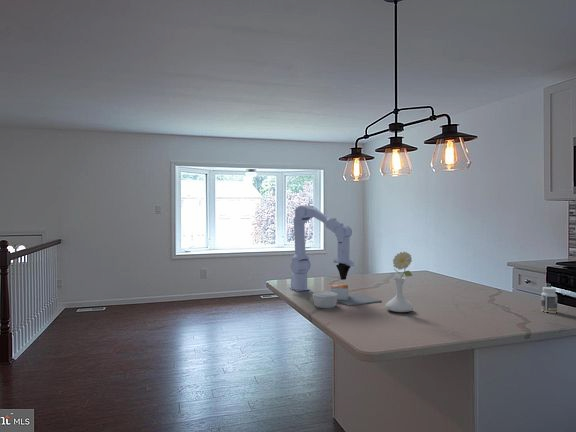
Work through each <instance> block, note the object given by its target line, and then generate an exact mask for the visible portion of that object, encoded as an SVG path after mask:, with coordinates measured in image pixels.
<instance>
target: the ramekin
mask: <svg viewBox="0 0 576 432" xmlns="http://www.w3.org/2000/svg"><path fill="white" fill-rule="evenodd" d="M337 297H338V294H337V293H334V292H331V291H325V290H322V291H315V292H313V293H312V299H313V305H314V307H316V308H321V309H332V308H333V309H334V308H335V307H336V306H337V303H338V302H337Z"/></svg>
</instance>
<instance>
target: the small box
mask: <svg viewBox="0 0 576 432" xmlns="http://www.w3.org/2000/svg"><path fill="white" fill-rule="evenodd" d="M330 292H334V293H337V294H338V297H337V300H348V294H349V283H347V284H346V283H343V284H342V283H331V286H330Z"/></svg>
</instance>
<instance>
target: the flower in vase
mask: <svg viewBox="0 0 576 432" xmlns="http://www.w3.org/2000/svg"><path fill="white" fill-rule="evenodd" d="M392 259H393V260H392V264H393V267H394V271H395V273H398V274H399V275H400V276H393V279H394V280H395V284H396V294H395V296H394V297H393V298H391V299H390V300H389V301H387V302H386V303H385V306H384V307H385V308H386V309H387V310H389V311H391V312H395V313H407V312H408V313H409V312H411V311H412V312H413V310H414V309H415V307H414V305H413V304H412V303H411V302H410V301H409V300H408V299H406V298H405V296H404V295H403V287H404V282H405V281H406V279H407V278H406V277H413V274H412V273H411V271H410V270H406V269H407V268H408V267H409V266H410V265H411V263H412V261H413V260H412V255H411V254H410V253H408V252H407V251H403V252H402V251H400V252H399V253H397V254H396V255H394V258H392ZM403 269H404V270H403ZM398 270H403V273H401V272H400V271H398ZM404 276H405V277H404Z"/></svg>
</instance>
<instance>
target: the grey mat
mask: <svg viewBox="0 0 576 432" xmlns="http://www.w3.org/2000/svg"><path fill="white" fill-rule="evenodd" d="M337 303H340V304H343V305H345V306H347V305H348V306H347V307H351V306H352V305H353V306H358V305H359V306H360V304H361V305H367V304H375V303H382V300H380V299H378V298H374V297H372V296H370V295H369V296H368V295H365V294H362V293H359V292H357V293H348V300H337Z"/></svg>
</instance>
